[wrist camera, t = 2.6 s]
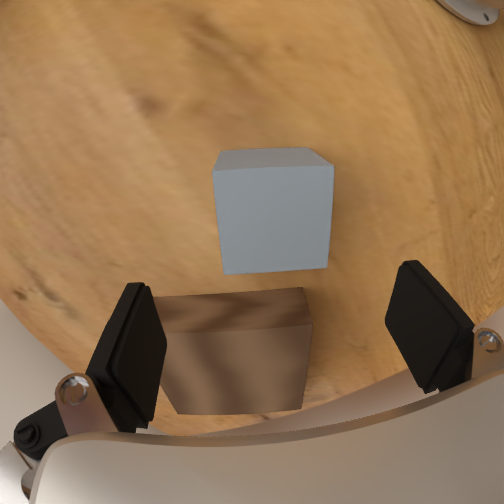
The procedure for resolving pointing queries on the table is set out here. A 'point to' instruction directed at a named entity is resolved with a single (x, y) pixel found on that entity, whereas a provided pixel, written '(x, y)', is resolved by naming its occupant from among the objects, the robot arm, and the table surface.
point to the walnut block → (236, 351)
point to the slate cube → (273, 209)
